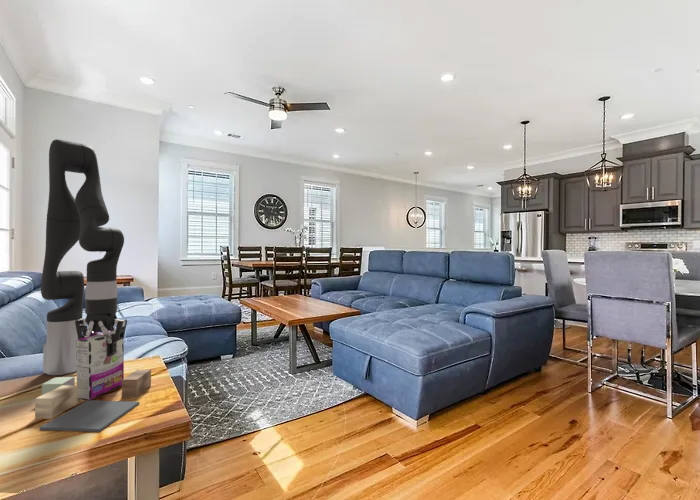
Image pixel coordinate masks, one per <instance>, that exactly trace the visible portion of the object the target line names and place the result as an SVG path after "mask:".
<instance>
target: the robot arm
mask: <svg viewBox="0 0 700 500" xmlns="http://www.w3.org/2000/svg"><path fill="white" fill-rule="evenodd" d="M97 158H98V157H97V154H96V152H95V150H94V148H93V147H92V146H90V145H87V144H85V143H79V142H76V141H74V142H73V141H68V140H63V139H58V138H57V139H53V140H52V141H51V143H50V145H49V149H48V175H49V176H48V178H49V181H48V182H49V187H48V188H49V190H48V191H49V192H48V200H47V201H48V203H47V211H46V212H47V214H46V223H45V225H46V226H45V251H44V260H43V267H42V274H41V281H40V293H41V297H42V299H44V300H46V301H56V300H58V301H59V300H67V299H68V302H66V303H65V304H63V305H62V306H60V307H57V308H55V309H52V310H51V309H50V310H49V311H48V312H47V313H46V343H44V344H43V346H42V347H43V348H42V349H43V357H42V359H43V361H42V365H43V366H42V374H46V375H47V376H61V375H67V374H72V373H75V372H76V373H77V353H76V351H77V350H76V340H78V339H82V338H85V337H89V336H92V335H96V334H99V333H103V335H104V336H105V337H106V339H107V341H108V344H107V356H113V355H114V354H115V353H116V346H117V341H119V340H122V339H123V338H125V333H126V330H127V329H126V328H127V324H128V320H127V319H126V318H125V319H119V318H118V316H117V311H118V284H117V283H118V282H117V267H118V262H119V260H120V256H121V253H122V249H123V247H124V244H125V236H124V233H123V232H122V230H120V229H119V228H117V227H106V226H105V225H107V224H108V222H109V221H110V213H109V211H108V208H107V205H106V202H105V200H104V195H103V192H102V184H101V179H100V170H99V164H98V163H99V162H98V159H97ZM66 172H68V173H77V174H83V175H84V176H85V180H84V182H83V184H82V185H81V187H80V188H79V189H78V191H77V193H76V195H75V197H74V196H73V193H71V191H70V189H69V187H68V184H67V180H66ZM103 226H105V227H103ZM77 243H78V244H79V245H80V247H81V248H82V250H84V251H85V252H92V253H96V252H98V253H100V252H102V253H103V252H104V253H105V254H104V256H103V257H102V258H99V259H94V260H90V261H88V262H87V264H86V281H85V277H84V274H83V273H82V272H81V271H80V270H61V271H58V268H59V266H60V264H61V262H62V260H63V258H64V257H65V256H66V255H67V253H68V252H69V251H71V249H72V248H73V247H74V246H75V245H76V244H77ZM85 282H86V284H85ZM83 310H84V314H86V315H85V318H83ZM108 331H110V332H108ZM111 335H112V337H111Z"/></svg>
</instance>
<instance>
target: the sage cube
mask: <svg viewBox="0 0 700 500" xmlns="http://www.w3.org/2000/svg"><path fill="white" fill-rule="evenodd" d="M75 379H76V378H75V376H62V377H60V376H58V377H53V378H51V379H49V380H48V381H45V382H43V383H41V395H44V394H46V393H48V392H50V391H52V390H54V389H56V388H58V387H60V386H63V385H71V386H76V385H75V383H76V382H75V381H76V380H75Z"/></svg>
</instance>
